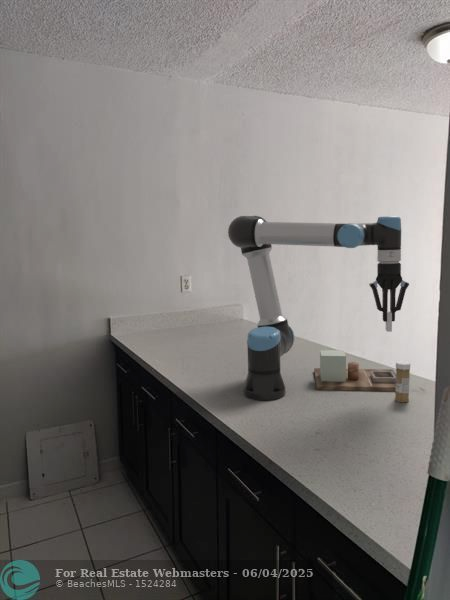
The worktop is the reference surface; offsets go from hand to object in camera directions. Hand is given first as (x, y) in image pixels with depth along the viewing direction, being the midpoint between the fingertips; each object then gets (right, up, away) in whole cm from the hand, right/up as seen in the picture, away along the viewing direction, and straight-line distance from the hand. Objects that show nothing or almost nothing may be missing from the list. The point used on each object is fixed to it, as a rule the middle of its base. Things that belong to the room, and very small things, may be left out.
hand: (388, 330), depth 164 cm
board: (-6, -21, +19) cm, 29 cm away
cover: (-15, -19, +18) cm, 31 cm away
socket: (+3, -19, +16) cm, 25 cm away
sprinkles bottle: (+4, -24, -2) cm, 24 cm away
